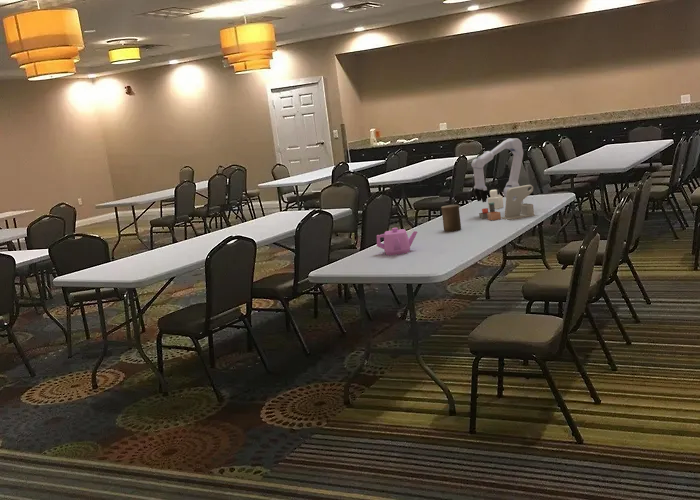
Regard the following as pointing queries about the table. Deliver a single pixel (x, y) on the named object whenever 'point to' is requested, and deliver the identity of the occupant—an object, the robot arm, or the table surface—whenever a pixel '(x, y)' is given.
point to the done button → (485, 210)
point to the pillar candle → (451, 217)
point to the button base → (483, 215)
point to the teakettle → (396, 241)
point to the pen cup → (494, 215)
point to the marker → (491, 207)
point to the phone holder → (518, 203)
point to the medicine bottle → (496, 198)
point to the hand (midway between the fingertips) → (481, 201)
